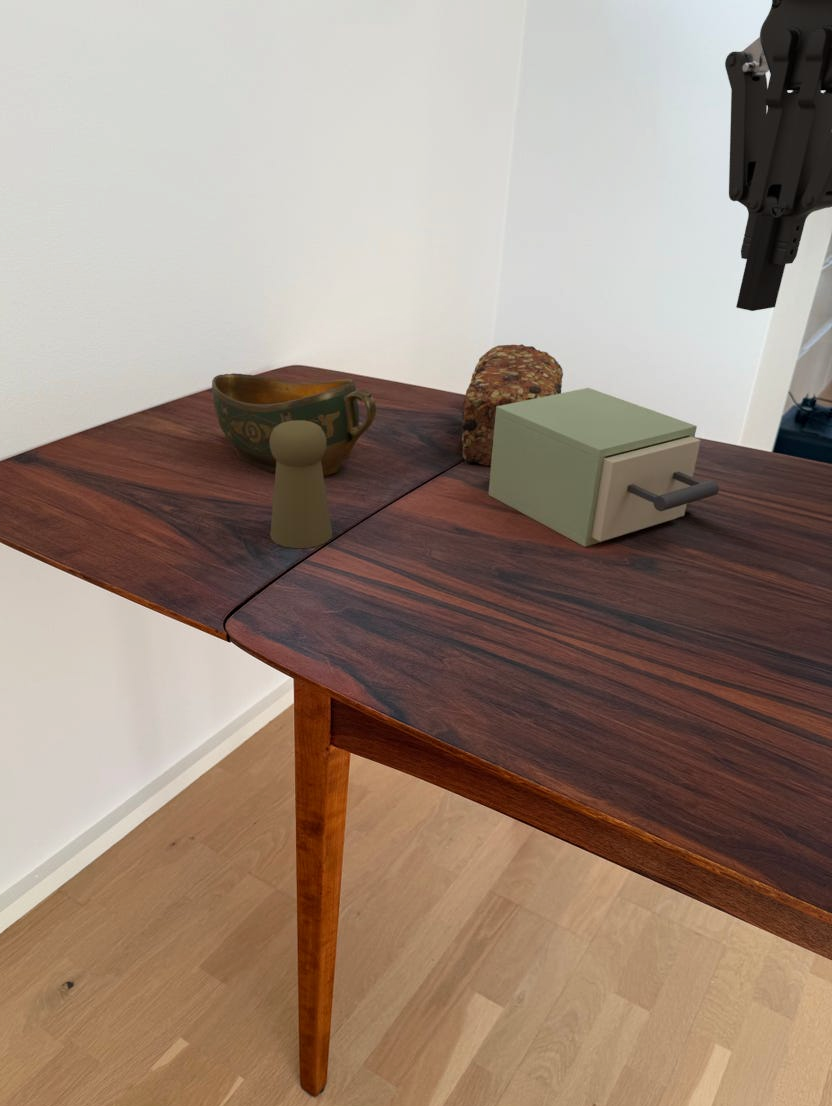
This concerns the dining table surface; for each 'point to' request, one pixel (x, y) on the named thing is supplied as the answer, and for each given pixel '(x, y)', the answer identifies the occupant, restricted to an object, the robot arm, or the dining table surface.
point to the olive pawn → (299, 486)
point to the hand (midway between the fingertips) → (755, 307)
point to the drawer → (648, 487)
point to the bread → (503, 392)
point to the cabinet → (568, 454)
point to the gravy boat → (289, 415)
